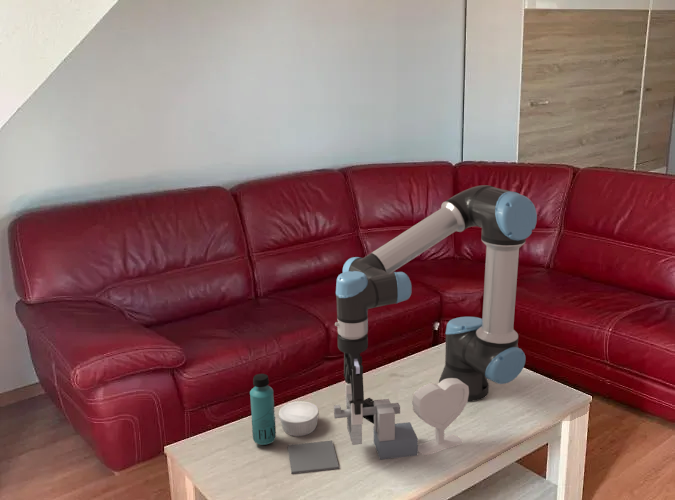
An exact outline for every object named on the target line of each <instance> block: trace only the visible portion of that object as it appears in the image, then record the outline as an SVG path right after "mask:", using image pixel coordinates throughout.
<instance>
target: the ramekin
mask: <svg viewBox="0 0 675 500" xmlns="http://www.w3.org/2000/svg"><path fill="white" fill-rule="evenodd" d="M319 412H320V411H319V408H318V406H317V405H316V404H314V403H313V402H309V401H303V400H302V401H301V400H299V401H297V400H296V401H292V402H289V403H285V405H282V406H281V407H280V409H279V411H278V418H279V420H280V423H281V428H282V430H283V431H284V432H285V433H286V434H287V435H290V436H293V437H304V436H307V435H310V434H311V433H313V431H315V429H316V427H317V426H318V420H319V419H318V417H319Z"/></svg>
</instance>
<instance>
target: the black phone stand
mask: <svg viewBox="0 0 675 500" xmlns="http://www.w3.org/2000/svg"><path fill="white" fill-rule="evenodd" d="M365 407H374V399H372V398H371V397H368V398H366V399H365V398H364V404H362V408H365ZM363 419H365V420H367V421H368V422H370V423H371V424H372V425H374V415H365V416H363Z"/></svg>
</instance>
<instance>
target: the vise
mask: <svg viewBox="0 0 675 500" xmlns="http://www.w3.org/2000/svg"><path fill="white" fill-rule="evenodd" d="M373 401H374V407H365V408H363V416H365V415H374V424H373V445H374V447H375V449H376V452H377V455H378V459H379V460H389V459H397V458H407V457H416V456H418V455H419V452H418V445H419V443H418V442H419V438H418V436H417V434H416V432H415V430H414V428H413V426H412V423H411V421H408V422H407V421H406V422H399V423H396V421H395V420H396V415H400V414H401V405H400V403H399V402H395V403H391V400H390V399H389V398H383V399H382V398H381V399H373ZM333 416H334V417H333V418H334V419H343V418H344V419H345V418H347V417H351V412H350V409H347V408H346V409H342V408H341V404H335V405H334V404H333Z"/></svg>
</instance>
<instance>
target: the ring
mask: <svg viewBox="0 0 675 500" xmlns="http://www.w3.org/2000/svg"><path fill="white" fill-rule="evenodd" d="M349 401H352V394H347V407H346V409H350V412H351V403H350V402H349ZM346 426H347V427H346V428H347V433H348V435H349V439H350V441H351V445H352V446H355V445H363V424H358V425H352V417H346Z"/></svg>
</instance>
